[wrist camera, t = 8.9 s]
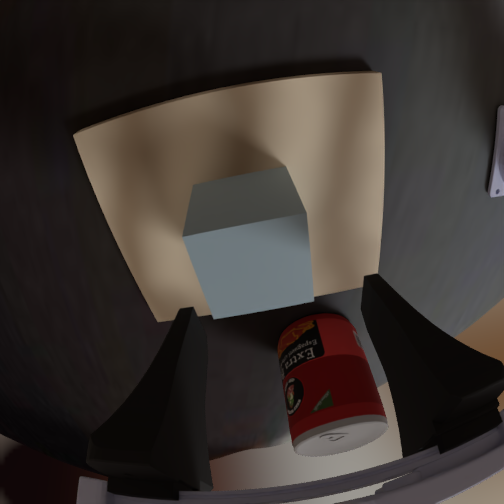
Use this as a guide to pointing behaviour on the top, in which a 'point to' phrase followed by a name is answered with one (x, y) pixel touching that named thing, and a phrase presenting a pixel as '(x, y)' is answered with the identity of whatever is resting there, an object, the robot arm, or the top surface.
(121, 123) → the board
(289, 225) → the cube
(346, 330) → the canned food
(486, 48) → the top surface
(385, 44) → the top surface
